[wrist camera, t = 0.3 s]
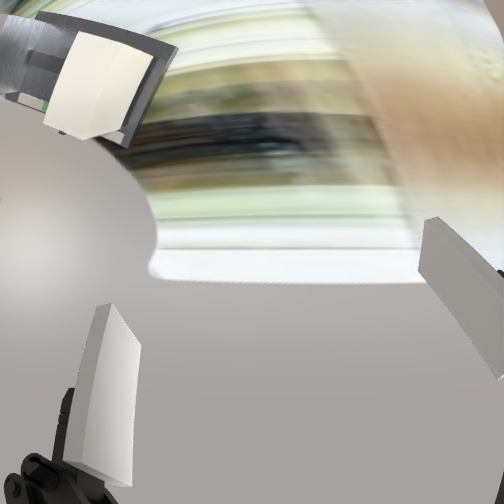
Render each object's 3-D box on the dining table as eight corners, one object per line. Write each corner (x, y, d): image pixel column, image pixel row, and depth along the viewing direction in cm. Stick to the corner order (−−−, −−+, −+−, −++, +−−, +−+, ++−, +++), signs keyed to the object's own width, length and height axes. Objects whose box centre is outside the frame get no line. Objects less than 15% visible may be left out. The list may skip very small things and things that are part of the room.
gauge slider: (80, 129, 29) (37, 141, 22) (116, 44, 25) (78, 31, 17) (114, 143, 31) (76, 158, 23) (153, 56, 26) (123, 43, 18)
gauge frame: (11, 97, 28) (-34, 104, 20) (45, 12, 23) (3, 1, 14) (131, 146, 33) (97, 162, 25) (178, 48, 28) (155, 31, 20)
